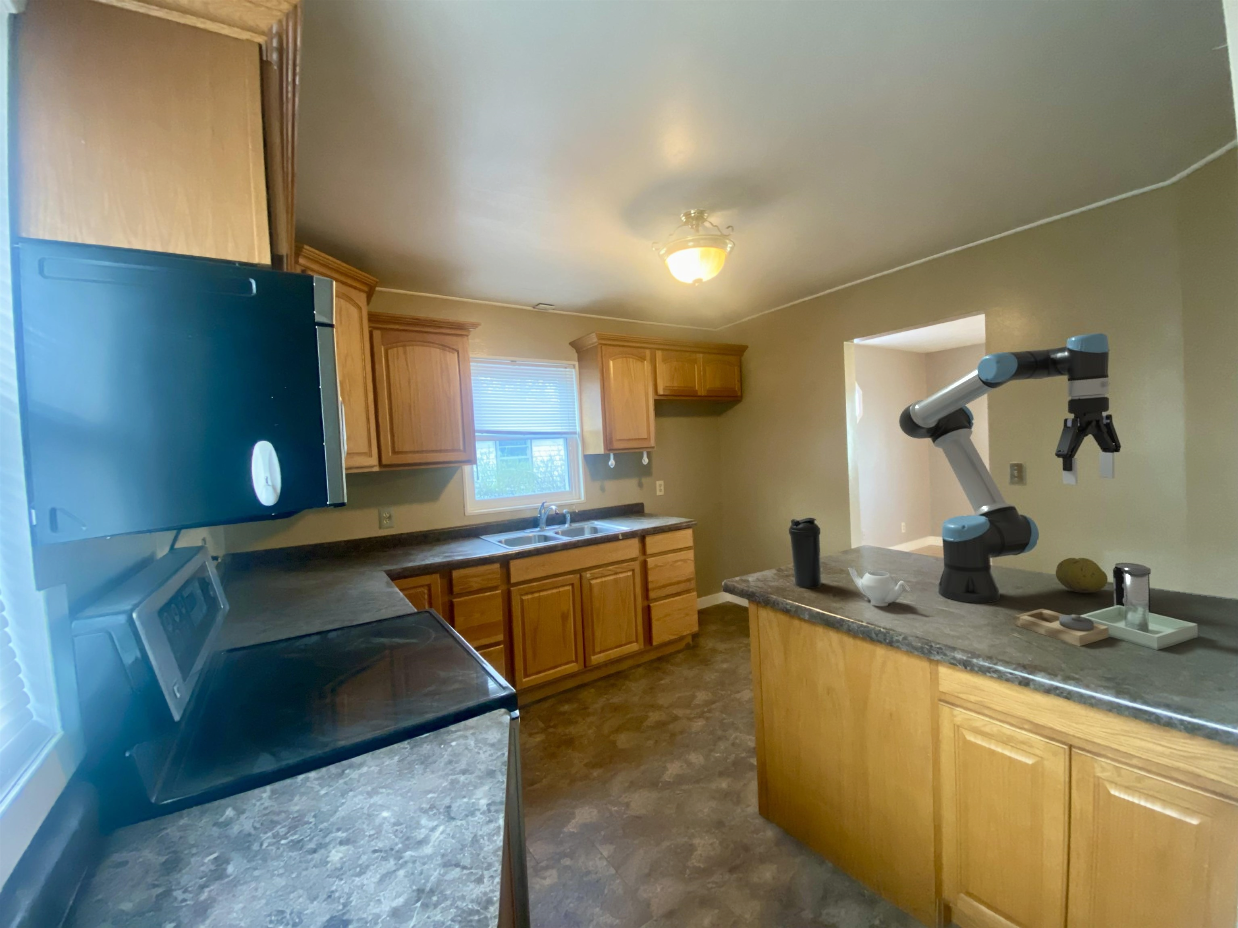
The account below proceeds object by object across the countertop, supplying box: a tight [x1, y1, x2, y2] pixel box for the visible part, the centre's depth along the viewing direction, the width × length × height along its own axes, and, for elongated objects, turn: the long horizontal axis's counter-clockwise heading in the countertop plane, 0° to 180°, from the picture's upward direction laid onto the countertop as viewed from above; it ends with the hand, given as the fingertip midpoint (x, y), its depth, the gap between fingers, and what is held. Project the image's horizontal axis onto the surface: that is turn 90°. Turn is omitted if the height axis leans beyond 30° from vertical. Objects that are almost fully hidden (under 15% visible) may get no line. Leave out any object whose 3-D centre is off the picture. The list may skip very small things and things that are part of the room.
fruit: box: [1055, 557, 1108, 594], centre depth 144 cm, size 11×12×10 cm
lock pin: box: [1121, 565, 1152, 633], centre depth 117 cm, size 5×5×15 cm
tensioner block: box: [1014, 608, 1110, 647], centre depth 122 cm, size 14×10×5 cm
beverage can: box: [1112, 562, 1151, 612], centre depth 129 cm, size 7×7×12 cm
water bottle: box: [788, 517, 822, 589], centre depth 172 cm, size 10×10×23 cm
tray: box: [1079, 605, 1199, 651], centre depth 118 cm, size 14×14×3 cm
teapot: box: [847, 566, 912, 607], centre depth 149 cm, size 10×20×9 cm, turn 28°
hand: (1088, 481), depth 126 cm, fingers open, 13 cm apart
